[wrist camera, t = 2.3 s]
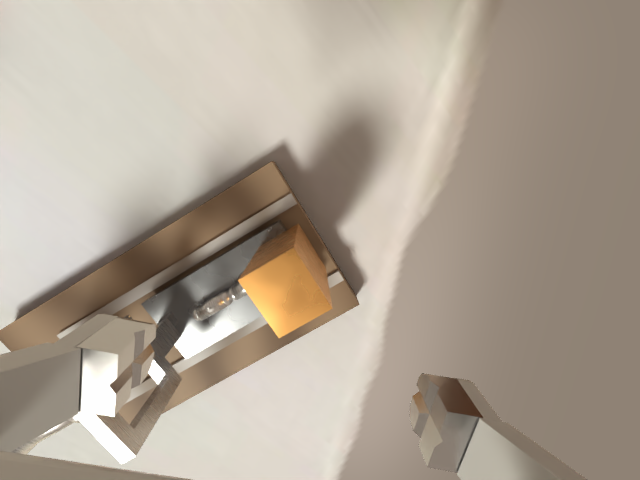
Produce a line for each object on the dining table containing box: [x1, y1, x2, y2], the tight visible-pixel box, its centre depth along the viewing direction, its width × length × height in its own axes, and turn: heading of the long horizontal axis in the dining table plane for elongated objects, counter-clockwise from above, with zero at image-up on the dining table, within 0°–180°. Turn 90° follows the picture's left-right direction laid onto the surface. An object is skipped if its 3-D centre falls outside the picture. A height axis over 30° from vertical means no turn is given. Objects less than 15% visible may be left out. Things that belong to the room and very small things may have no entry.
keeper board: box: [0, 161, 359, 438], centre depth 23 cm, size 24×12×2 cm, turn 121°
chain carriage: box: [75, 219, 333, 464], centre depth 17 cm, size 12×5×9 cm, turn 121°
